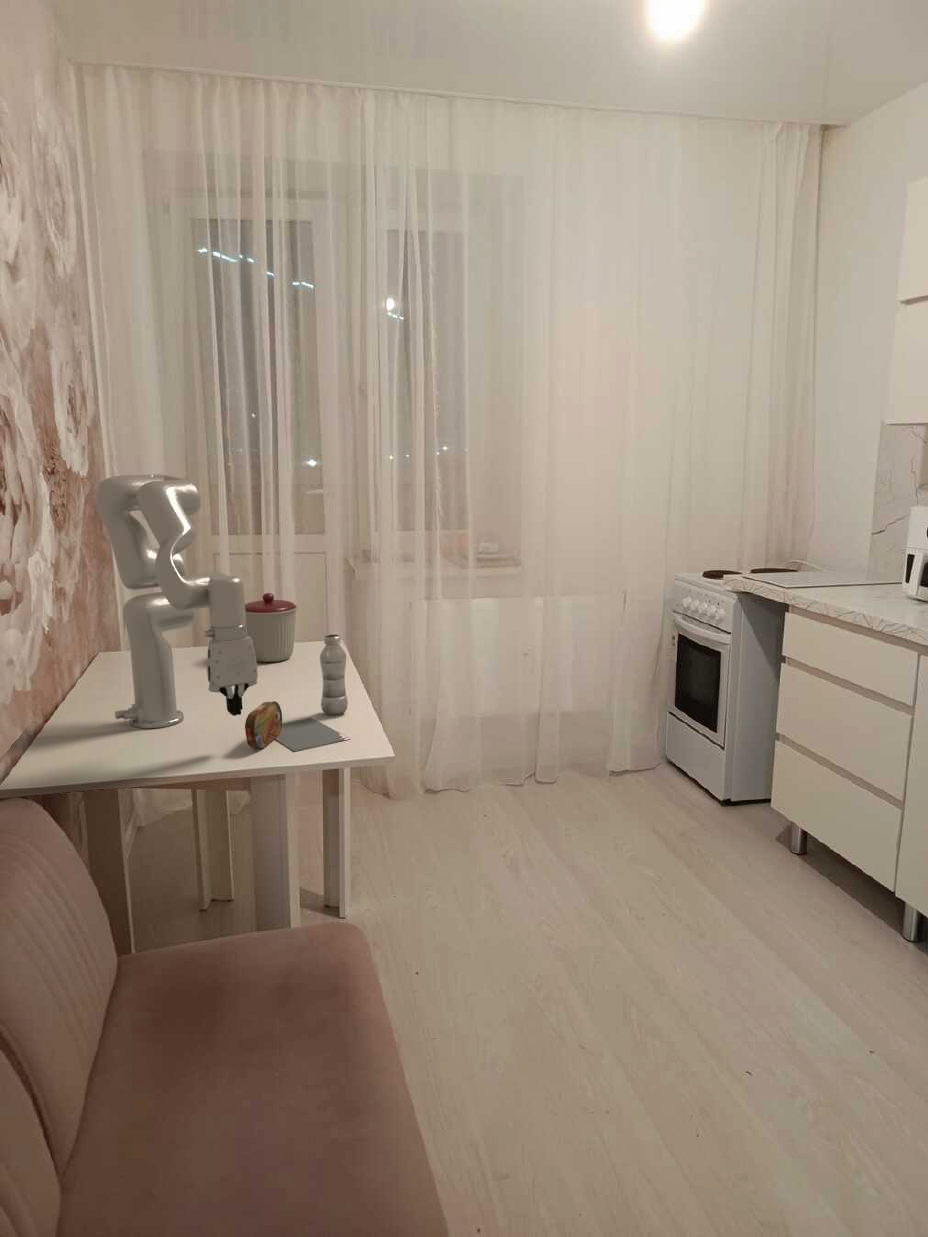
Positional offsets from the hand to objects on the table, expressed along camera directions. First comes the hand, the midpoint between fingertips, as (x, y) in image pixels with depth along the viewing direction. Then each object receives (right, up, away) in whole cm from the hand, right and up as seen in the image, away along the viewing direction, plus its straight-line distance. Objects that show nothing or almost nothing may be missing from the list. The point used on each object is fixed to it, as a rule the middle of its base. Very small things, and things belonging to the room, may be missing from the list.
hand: (235, 713), depth 198 cm
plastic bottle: (+18, -3, +27) cm, 33 cm away
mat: (+13, -6, +11) cm, 18 cm away
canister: (-10, +8, +84) cm, 85 cm away
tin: (+5, -7, +6) cm, 11 cm away
